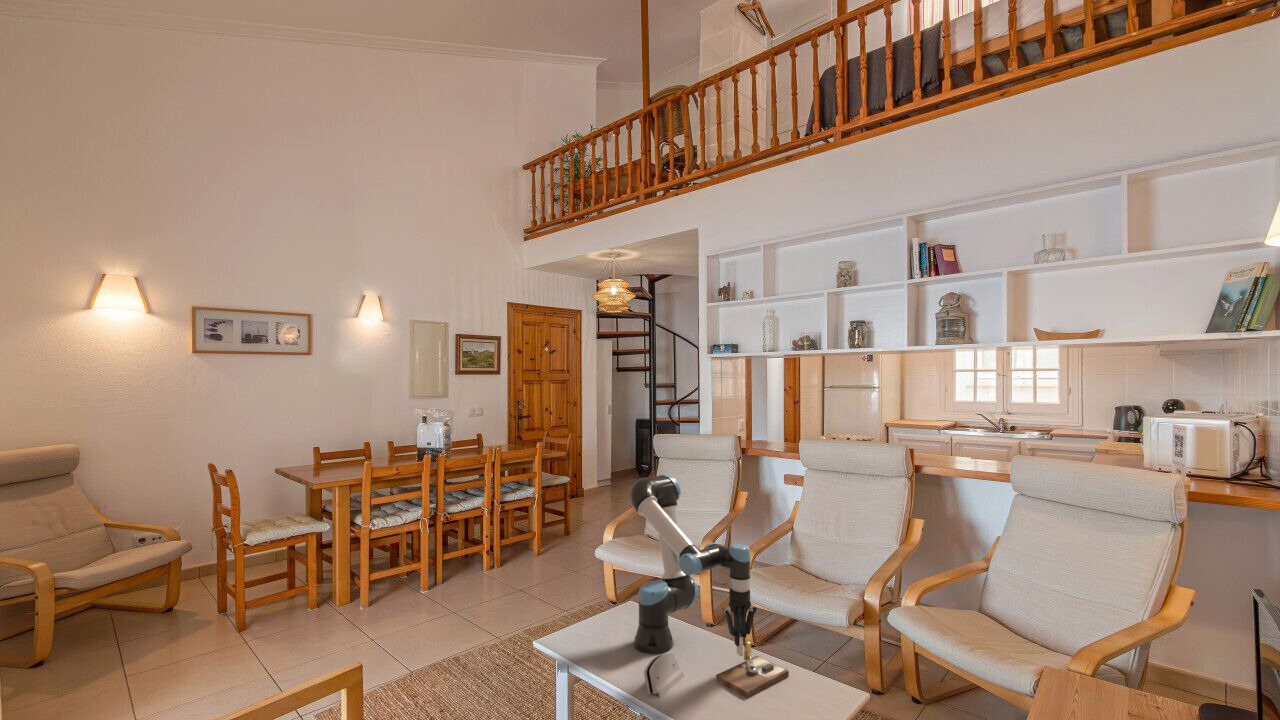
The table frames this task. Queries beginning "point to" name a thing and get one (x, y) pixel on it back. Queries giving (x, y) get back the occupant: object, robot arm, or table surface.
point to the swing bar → (749, 658)
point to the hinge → (662, 674)
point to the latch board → (752, 677)
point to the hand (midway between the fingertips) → (739, 654)
